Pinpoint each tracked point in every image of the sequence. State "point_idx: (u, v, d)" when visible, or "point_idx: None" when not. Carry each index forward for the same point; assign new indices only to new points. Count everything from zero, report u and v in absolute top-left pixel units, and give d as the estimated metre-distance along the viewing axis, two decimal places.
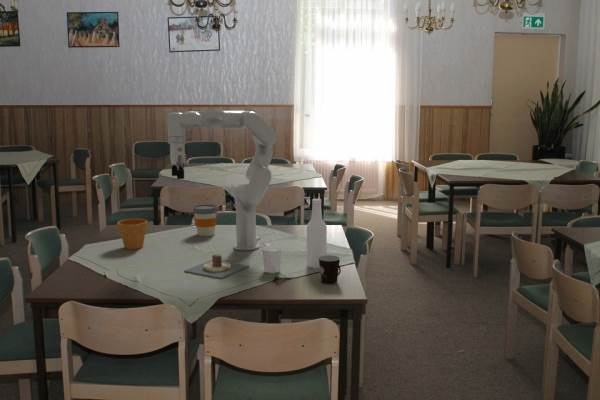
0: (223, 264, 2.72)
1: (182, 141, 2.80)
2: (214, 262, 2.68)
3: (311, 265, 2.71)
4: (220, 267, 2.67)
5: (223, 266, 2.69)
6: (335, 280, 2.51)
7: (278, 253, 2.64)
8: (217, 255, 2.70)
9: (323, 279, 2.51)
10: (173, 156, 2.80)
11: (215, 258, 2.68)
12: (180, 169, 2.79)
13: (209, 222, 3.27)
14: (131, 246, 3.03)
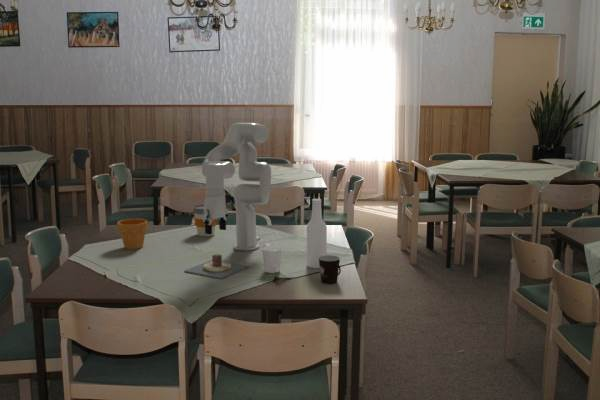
0: (223, 264, 2.72)
1: None
2: (214, 262, 2.68)
3: (311, 265, 2.71)
4: (220, 267, 2.67)
5: (223, 266, 2.69)
6: (335, 280, 2.51)
7: (278, 253, 2.64)
8: (217, 255, 2.70)
9: (323, 279, 2.51)
10: (223, 208, 2.66)
11: (215, 258, 2.68)
12: None
13: None
14: (131, 246, 3.03)
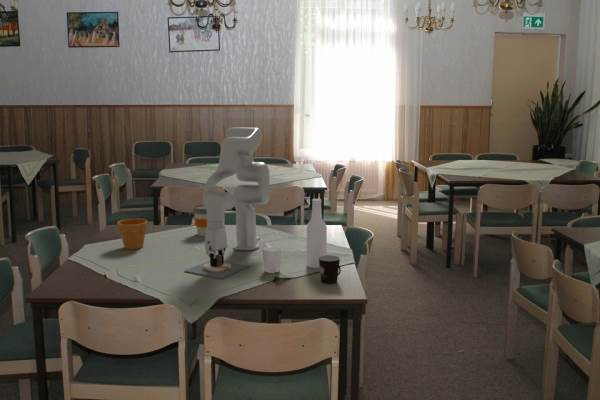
0: (223, 264, 2.72)
1: None
2: None
3: (311, 265, 2.71)
4: (220, 267, 2.67)
5: (223, 266, 2.69)
6: (335, 280, 2.51)
7: (278, 253, 2.64)
8: (217, 255, 2.70)
9: (323, 279, 2.51)
10: (224, 239, 2.69)
11: None
12: None
13: None
14: (131, 246, 3.03)
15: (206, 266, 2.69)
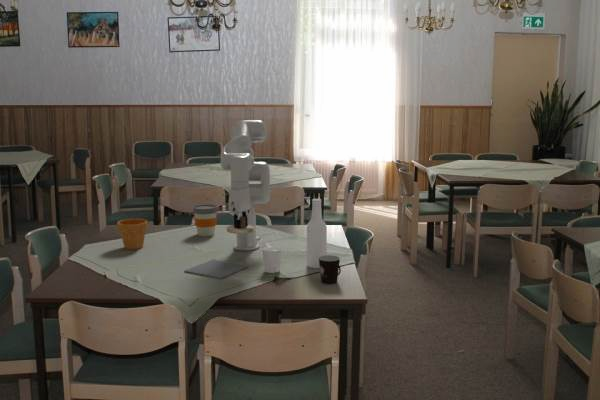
0: (247, 226, 2.67)
1: None
2: None
3: (311, 265, 2.71)
4: (244, 229, 2.62)
5: (247, 228, 2.64)
6: (335, 280, 2.51)
7: (278, 253, 2.64)
8: (241, 217, 2.65)
9: (323, 279, 2.51)
10: (248, 201, 2.65)
11: None
12: None
13: (209, 222, 3.27)
14: (131, 246, 3.03)
15: (230, 228, 2.65)
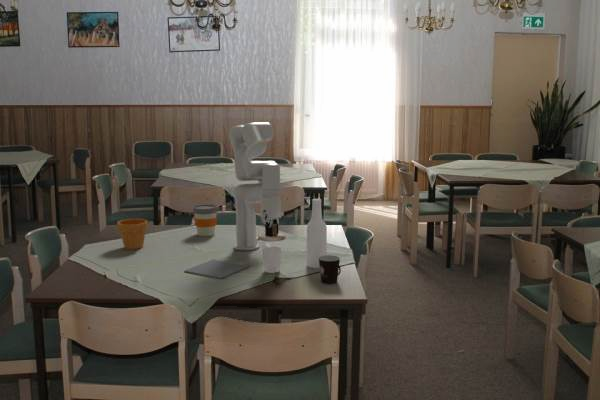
0: (278, 234, 2.66)
1: None
2: None
3: (311, 265, 2.71)
4: (276, 237, 2.62)
5: (279, 236, 2.64)
6: (335, 280, 2.51)
7: (278, 253, 2.64)
8: (272, 225, 2.64)
9: (323, 279, 2.51)
10: (279, 208, 2.64)
11: None
12: None
13: (209, 222, 3.27)
14: (131, 246, 3.03)
15: (261, 236, 2.63)
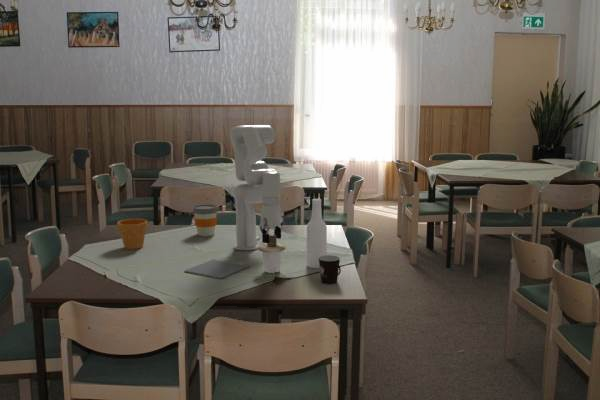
0: (277, 244, 2.68)
1: None
2: (269, 242, 2.64)
3: (311, 265, 2.71)
4: (276, 247, 2.63)
5: (278, 246, 2.65)
6: (335, 280, 2.51)
7: (278, 253, 2.64)
8: (272, 235, 2.66)
9: (323, 279, 2.51)
10: (279, 216, 2.65)
11: (270, 238, 2.63)
12: None
13: (209, 222, 3.27)
14: (131, 246, 3.03)
15: (261, 246, 2.64)
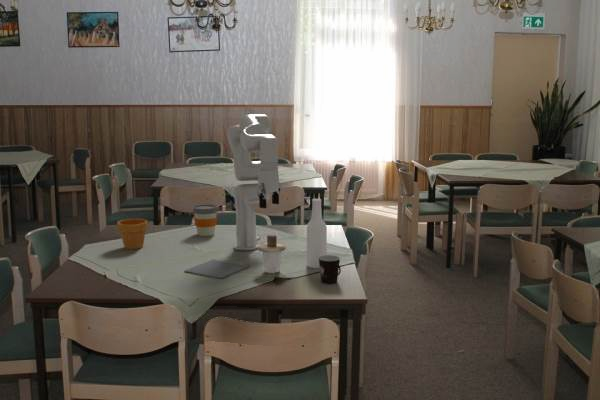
0: (278, 245, 2.68)
1: None
2: (269, 242, 2.64)
3: (311, 265, 2.71)
4: (276, 248, 2.63)
5: (279, 246, 2.65)
6: (335, 280, 2.51)
7: (278, 253, 2.64)
8: (272, 235, 2.66)
9: (323, 279, 2.51)
10: (276, 182, 2.63)
11: (270, 238, 2.63)
12: None
13: (209, 222, 3.27)
14: (131, 246, 3.03)
15: (261, 246, 2.64)
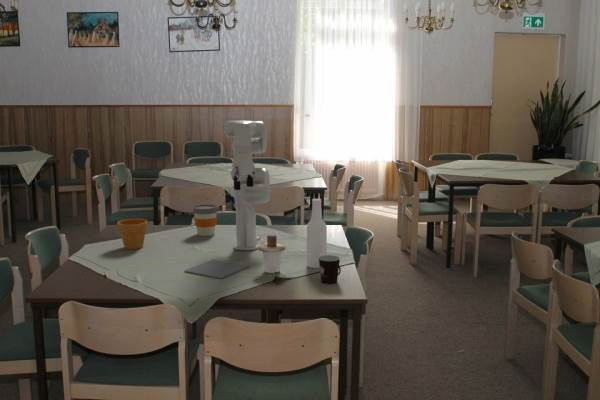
0: (277, 244, 2.68)
1: None
2: (269, 242, 2.64)
3: (311, 265, 2.71)
4: (276, 248, 2.63)
5: (279, 246, 2.65)
6: (335, 280, 2.51)
7: (278, 253, 2.64)
8: (272, 235, 2.66)
9: (323, 279, 2.51)
10: (250, 165, 2.78)
11: (270, 238, 2.63)
12: None
13: (209, 222, 3.27)
14: (131, 246, 3.03)
15: (261, 246, 2.64)
